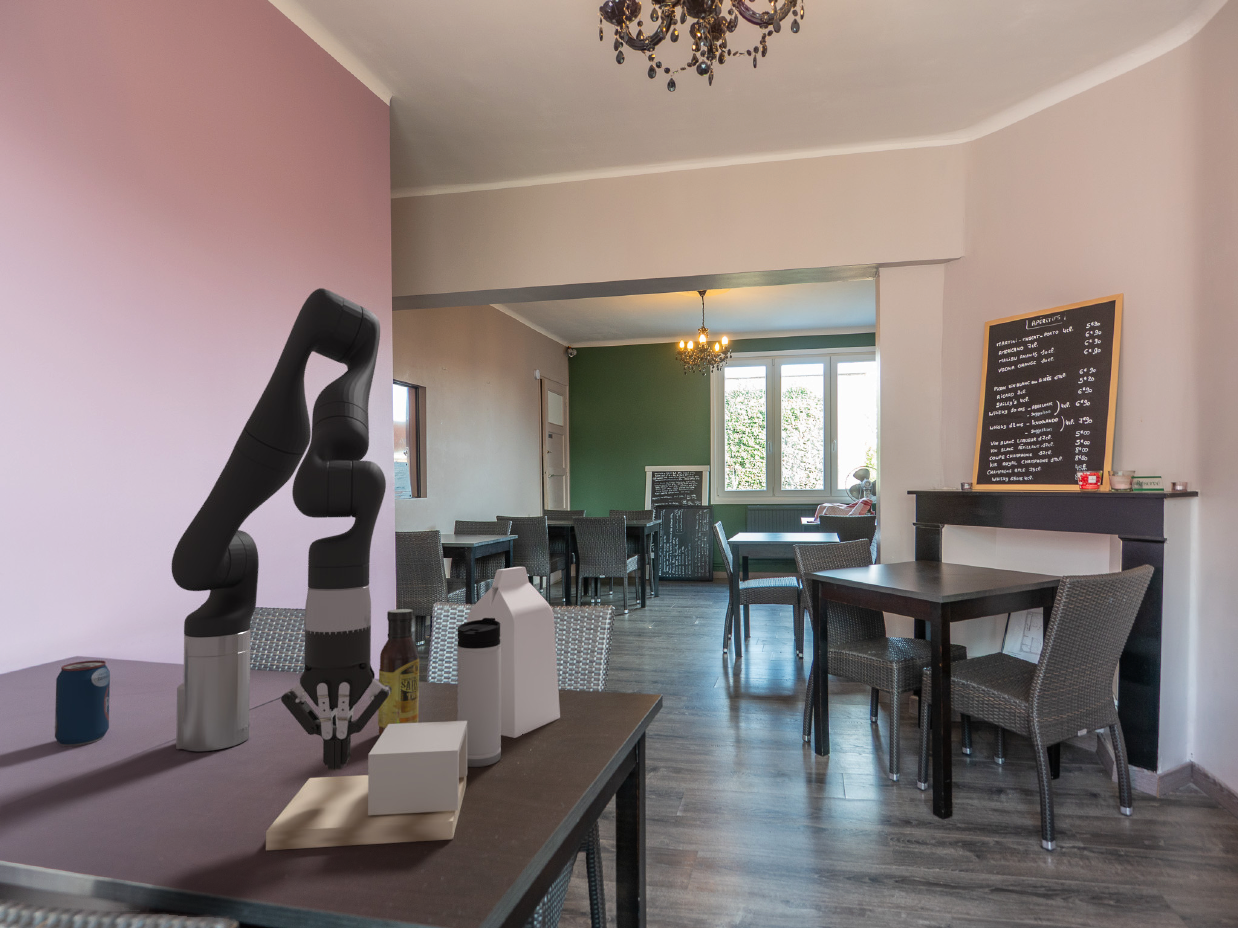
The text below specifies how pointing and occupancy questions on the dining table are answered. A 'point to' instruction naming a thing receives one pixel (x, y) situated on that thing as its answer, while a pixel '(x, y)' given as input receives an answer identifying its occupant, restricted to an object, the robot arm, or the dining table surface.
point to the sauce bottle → (399, 672)
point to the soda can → (82, 703)
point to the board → (352, 818)
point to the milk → (522, 651)
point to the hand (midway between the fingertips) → (336, 767)
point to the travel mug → (480, 689)
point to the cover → (417, 768)
